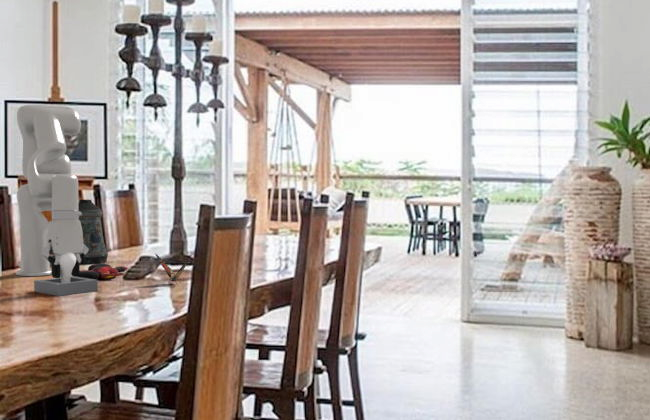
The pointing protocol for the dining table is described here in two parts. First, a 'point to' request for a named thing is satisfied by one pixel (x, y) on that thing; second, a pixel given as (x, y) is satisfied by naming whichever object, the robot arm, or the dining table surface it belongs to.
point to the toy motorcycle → (101, 271)
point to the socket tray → (65, 286)
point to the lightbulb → (66, 266)
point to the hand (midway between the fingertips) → (65, 276)
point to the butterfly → (169, 271)
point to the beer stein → (92, 233)
